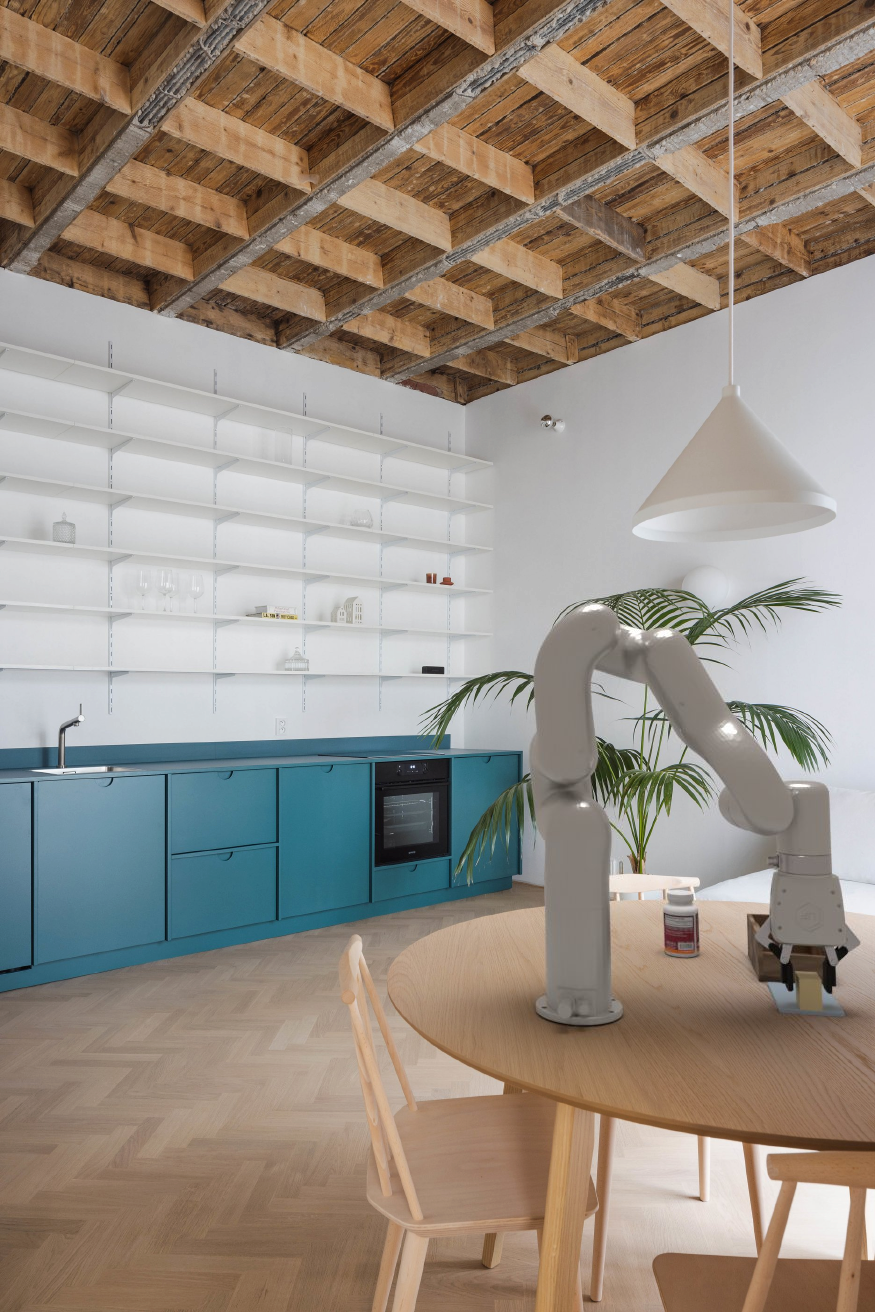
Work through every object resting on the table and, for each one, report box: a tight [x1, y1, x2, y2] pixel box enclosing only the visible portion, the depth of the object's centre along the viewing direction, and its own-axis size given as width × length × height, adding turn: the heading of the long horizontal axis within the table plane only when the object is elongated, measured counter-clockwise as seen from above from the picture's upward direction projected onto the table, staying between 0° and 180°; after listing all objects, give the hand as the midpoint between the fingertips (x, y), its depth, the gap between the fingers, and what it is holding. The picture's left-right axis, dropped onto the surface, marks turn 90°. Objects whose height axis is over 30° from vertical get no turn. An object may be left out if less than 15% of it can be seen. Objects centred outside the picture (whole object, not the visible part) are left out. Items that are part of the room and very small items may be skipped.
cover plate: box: [766, 971, 846, 1018], centre depth 137 cm, size 14×9×5 cm, turn 167°
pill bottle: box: [662, 889, 701, 959], centre depth 164 cm, size 6×6×11 cm
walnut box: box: [746, 913, 826, 985], centre depth 153 cm, size 16×11×7 cm
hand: (808, 988), depth 133 cm, fingers open, 4 cm apart
